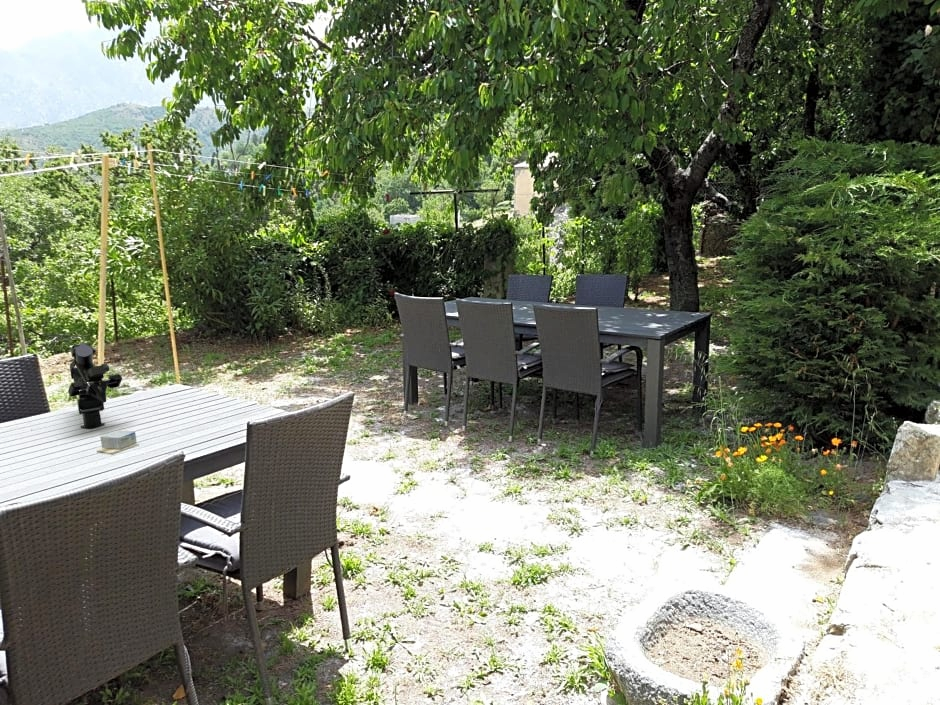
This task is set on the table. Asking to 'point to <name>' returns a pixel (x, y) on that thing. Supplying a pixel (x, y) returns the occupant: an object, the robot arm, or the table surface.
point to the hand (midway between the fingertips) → (105, 401)
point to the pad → (113, 451)
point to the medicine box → (118, 439)
